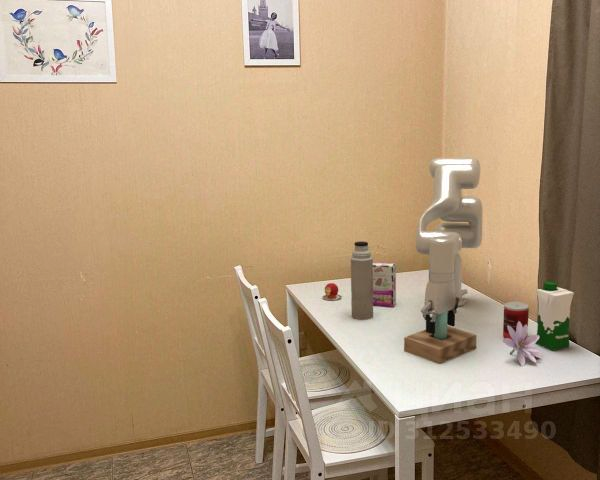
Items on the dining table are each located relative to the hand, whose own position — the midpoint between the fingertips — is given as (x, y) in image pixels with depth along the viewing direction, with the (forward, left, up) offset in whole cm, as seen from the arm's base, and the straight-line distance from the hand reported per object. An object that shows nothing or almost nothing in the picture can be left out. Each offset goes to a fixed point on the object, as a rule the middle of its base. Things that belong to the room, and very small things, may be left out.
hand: (440, 329), depth 196 cm
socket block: (0, 0, -7) cm, 7 cm away
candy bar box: (-20, -45, -7) cm, 50 cm away
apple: (-12, -65, -7) cm, 66 cm away
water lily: (-11, +22, -7) cm, 26 cm away
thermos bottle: (-5, -40, -7) cm, 41 cm away
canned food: (-26, +10, -7) cm, 29 cm away
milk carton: (-28, +22, -7) cm, 36 cm away
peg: (0, 0, -7) cm, 7 cm away
